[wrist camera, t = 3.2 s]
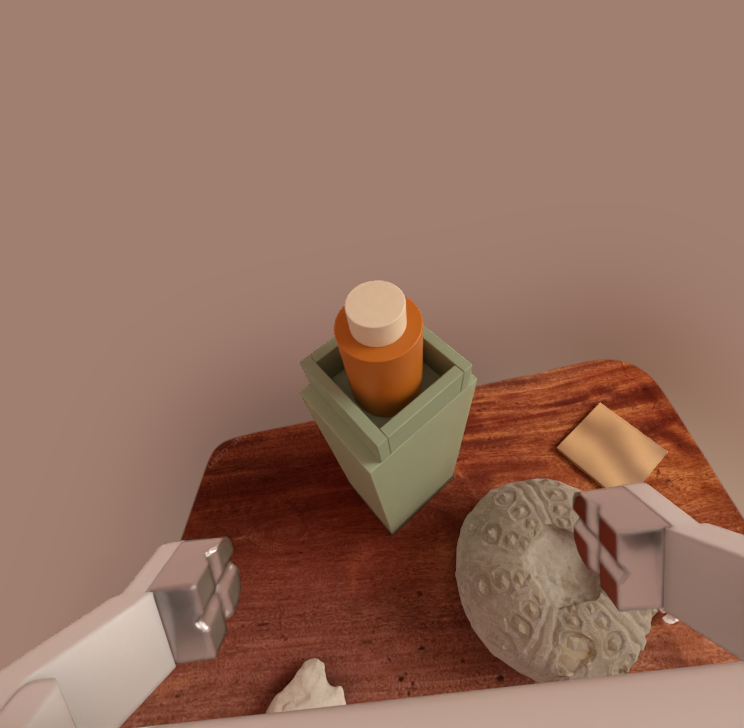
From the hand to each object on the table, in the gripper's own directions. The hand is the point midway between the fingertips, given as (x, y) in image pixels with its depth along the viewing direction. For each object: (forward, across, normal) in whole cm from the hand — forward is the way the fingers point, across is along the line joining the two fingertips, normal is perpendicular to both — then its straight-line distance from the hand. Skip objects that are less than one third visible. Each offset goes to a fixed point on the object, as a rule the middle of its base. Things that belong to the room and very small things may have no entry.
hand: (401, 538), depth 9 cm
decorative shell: (+28, -13, +28) cm, 42 cm away
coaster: (+37, -26, +19) cm, 49 cm away
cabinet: (+36, 0, +19) cm, 41 cm away
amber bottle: (+19, 0, +2) cm, 19 cm away
